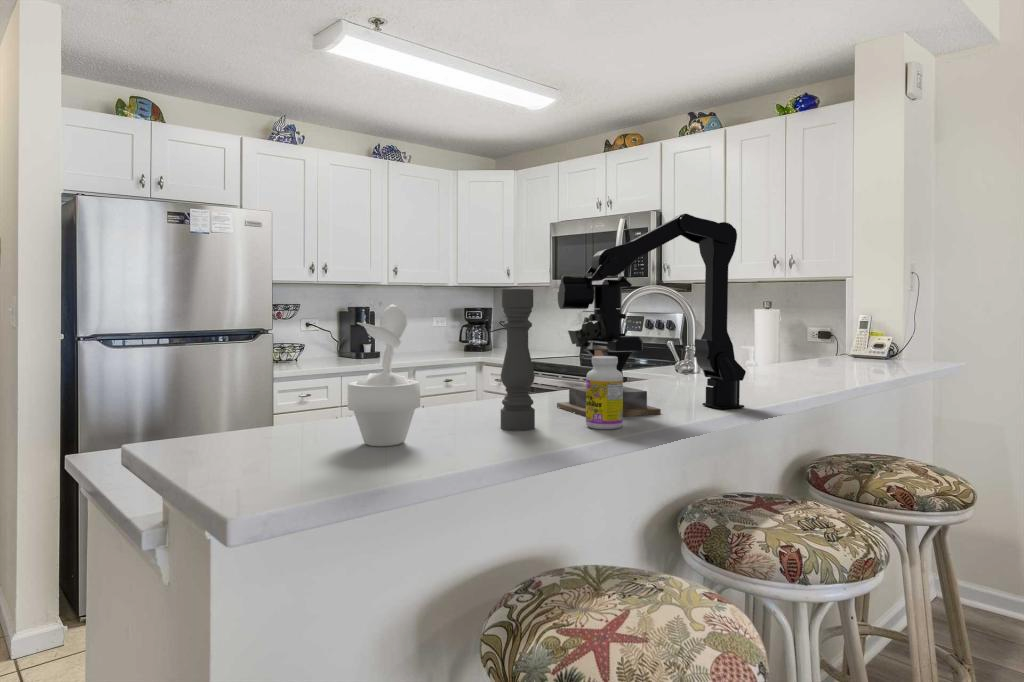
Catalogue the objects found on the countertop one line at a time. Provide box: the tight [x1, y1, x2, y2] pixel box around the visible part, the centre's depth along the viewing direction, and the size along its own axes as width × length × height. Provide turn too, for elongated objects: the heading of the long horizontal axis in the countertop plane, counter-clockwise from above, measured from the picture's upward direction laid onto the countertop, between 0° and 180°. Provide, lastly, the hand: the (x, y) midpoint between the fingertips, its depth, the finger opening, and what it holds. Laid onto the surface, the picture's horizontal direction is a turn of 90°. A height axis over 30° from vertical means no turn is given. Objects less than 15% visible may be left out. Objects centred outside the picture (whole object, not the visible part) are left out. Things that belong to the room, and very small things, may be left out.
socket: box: [556, 385, 662, 418], centre depth 139 cm, size 16×16×4 cm
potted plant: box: [346, 289, 421, 448], centre depth 104 cm, size 13×12×25 cm
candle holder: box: [500, 288, 536, 432], centre depth 119 cm, size 6×6×25 cm
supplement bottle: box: [585, 356, 624, 431], centre depth 119 cm, size 7×7×13 cm
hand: (607, 382), depth 139 cm, fingers closed on peg, 4 cm apart
